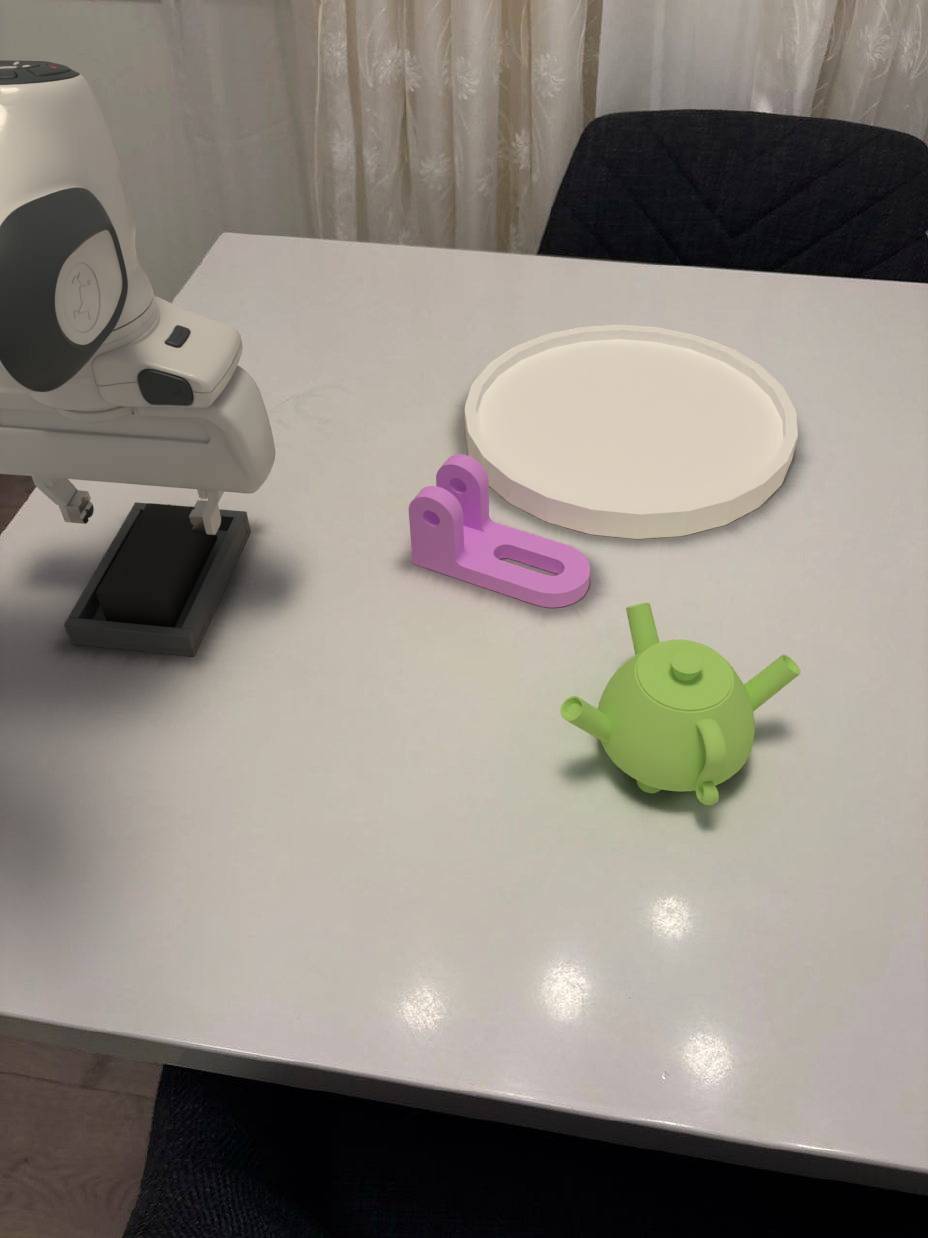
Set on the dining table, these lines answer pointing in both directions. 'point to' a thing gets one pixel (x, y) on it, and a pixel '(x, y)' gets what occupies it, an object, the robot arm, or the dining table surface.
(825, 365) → the dining table surface
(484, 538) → the bracket
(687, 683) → the teapot
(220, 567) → the base tray
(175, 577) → the black rectangular block
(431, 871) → the dining table surface
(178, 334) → the robot arm
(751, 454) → the plate
